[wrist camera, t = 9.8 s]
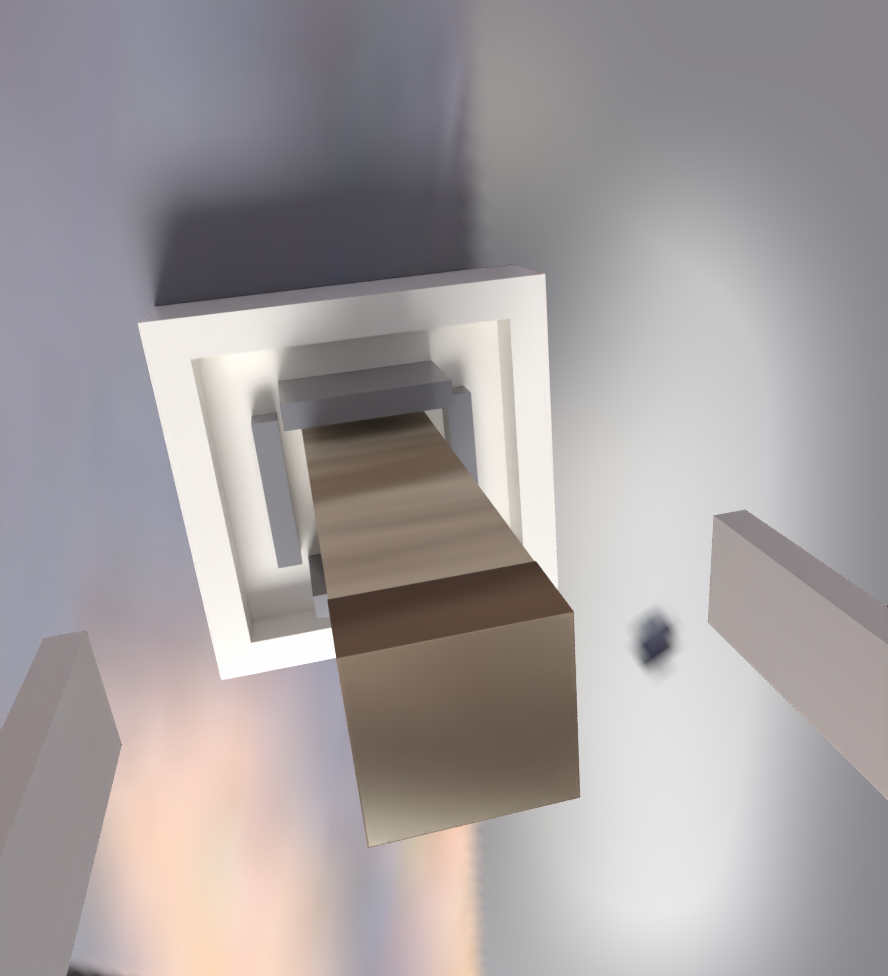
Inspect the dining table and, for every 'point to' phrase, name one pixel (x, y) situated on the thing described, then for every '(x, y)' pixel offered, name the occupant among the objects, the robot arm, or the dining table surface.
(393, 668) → the wood grain beam
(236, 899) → the dining table surface
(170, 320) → the white square frame
